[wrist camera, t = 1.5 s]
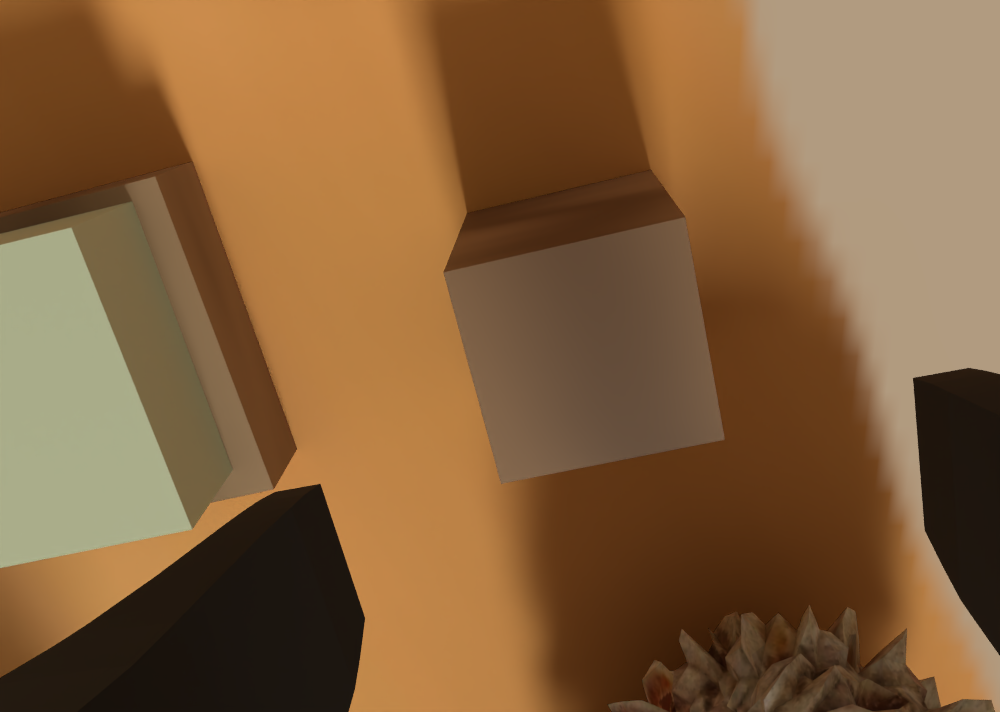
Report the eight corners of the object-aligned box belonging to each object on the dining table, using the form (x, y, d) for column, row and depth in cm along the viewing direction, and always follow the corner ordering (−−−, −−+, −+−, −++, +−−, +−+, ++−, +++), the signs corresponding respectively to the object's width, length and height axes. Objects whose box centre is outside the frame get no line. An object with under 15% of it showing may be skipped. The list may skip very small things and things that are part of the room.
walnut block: (510, 380, 21) (501, 483, 16) (467, 213, 20) (443, 272, 15) (683, 344, 21) (724, 440, 16) (650, 169, 19) (685, 217, 15)
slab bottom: (43, 496, 23) (-14, 550, 21) (-83, 232, 21) (-162, 260, 19) (301, 439, 22) (274, 489, 20) (200, 158, 20) (155, 176, 18)
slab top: (-19, 522, 20) (-90, 586, 18) (-142, 268, 19) (-240, 303, 16) (232, 469, 20) (192, 528, 17) (132, 200, 18) (71, 227, 16)
